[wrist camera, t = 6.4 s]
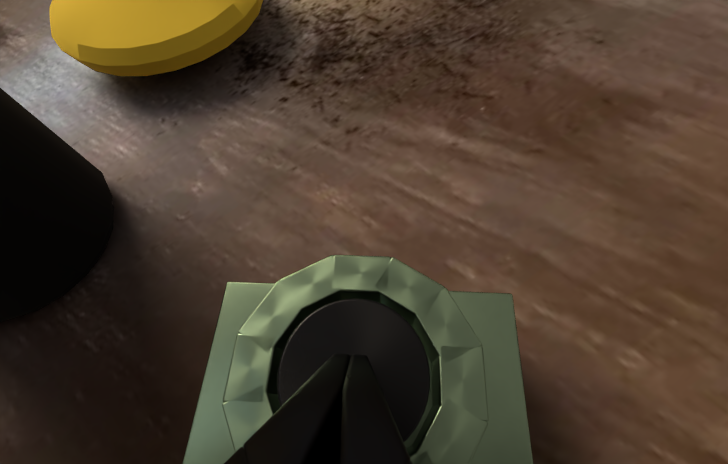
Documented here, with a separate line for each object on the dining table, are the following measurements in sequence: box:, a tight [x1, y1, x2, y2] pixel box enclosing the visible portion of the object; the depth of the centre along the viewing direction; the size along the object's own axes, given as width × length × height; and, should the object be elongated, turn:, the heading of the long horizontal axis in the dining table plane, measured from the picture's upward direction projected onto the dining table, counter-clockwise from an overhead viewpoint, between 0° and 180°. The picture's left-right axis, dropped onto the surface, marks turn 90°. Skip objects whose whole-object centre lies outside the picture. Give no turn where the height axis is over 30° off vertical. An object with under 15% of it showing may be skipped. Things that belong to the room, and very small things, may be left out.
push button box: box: [183, 255, 533, 464], centre depth 12 cm, size 10×10×8 cm
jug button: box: [277, 298, 430, 442], centre depth 10 cm, size 4×4×2 cm
